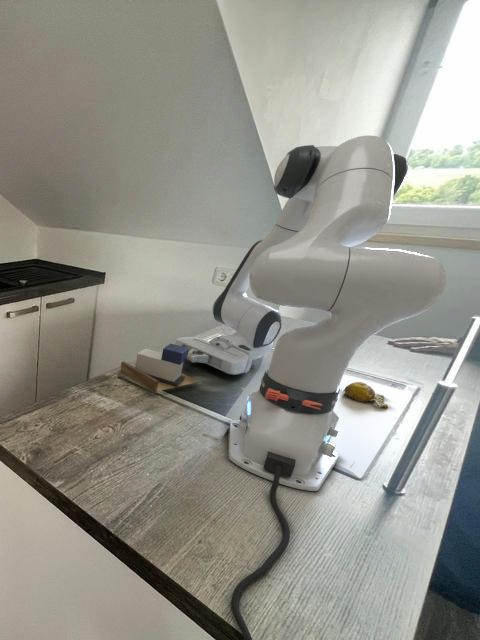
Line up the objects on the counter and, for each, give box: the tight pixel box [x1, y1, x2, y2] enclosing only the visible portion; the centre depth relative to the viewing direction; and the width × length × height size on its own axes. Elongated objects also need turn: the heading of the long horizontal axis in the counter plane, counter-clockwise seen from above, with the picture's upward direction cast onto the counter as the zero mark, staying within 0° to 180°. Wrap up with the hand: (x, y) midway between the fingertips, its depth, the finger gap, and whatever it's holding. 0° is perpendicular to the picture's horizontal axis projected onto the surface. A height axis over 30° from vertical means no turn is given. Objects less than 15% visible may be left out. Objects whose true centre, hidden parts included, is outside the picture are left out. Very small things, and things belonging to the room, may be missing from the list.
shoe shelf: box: [119, 361, 200, 393], centre depth 105 cm, size 16×13×4 cm
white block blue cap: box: [134, 343, 189, 388], centre depth 103 cm, size 12×6×9 cm, turn 48°
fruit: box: [343, 381, 389, 408], centre depth 96 cm, size 8×8×4 cm
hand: (188, 357), depth 107 cm, fingers closed
